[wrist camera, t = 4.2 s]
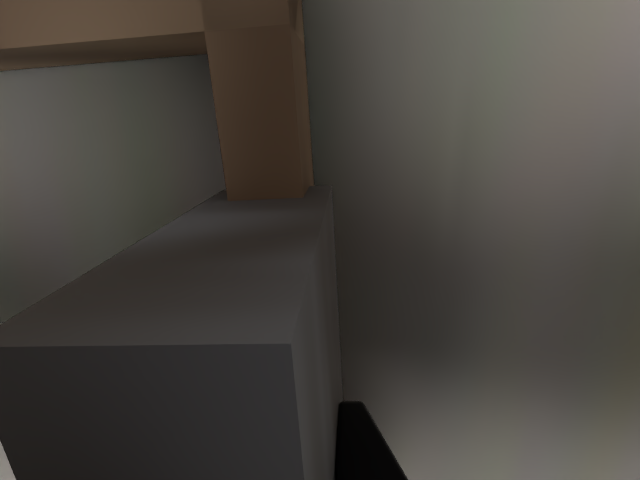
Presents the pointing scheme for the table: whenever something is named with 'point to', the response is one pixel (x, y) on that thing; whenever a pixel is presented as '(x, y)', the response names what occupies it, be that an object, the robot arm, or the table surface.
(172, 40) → the brown rectangular frame
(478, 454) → the table surface
